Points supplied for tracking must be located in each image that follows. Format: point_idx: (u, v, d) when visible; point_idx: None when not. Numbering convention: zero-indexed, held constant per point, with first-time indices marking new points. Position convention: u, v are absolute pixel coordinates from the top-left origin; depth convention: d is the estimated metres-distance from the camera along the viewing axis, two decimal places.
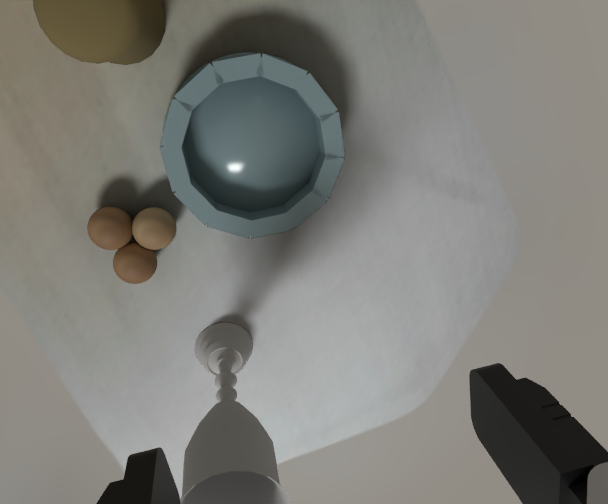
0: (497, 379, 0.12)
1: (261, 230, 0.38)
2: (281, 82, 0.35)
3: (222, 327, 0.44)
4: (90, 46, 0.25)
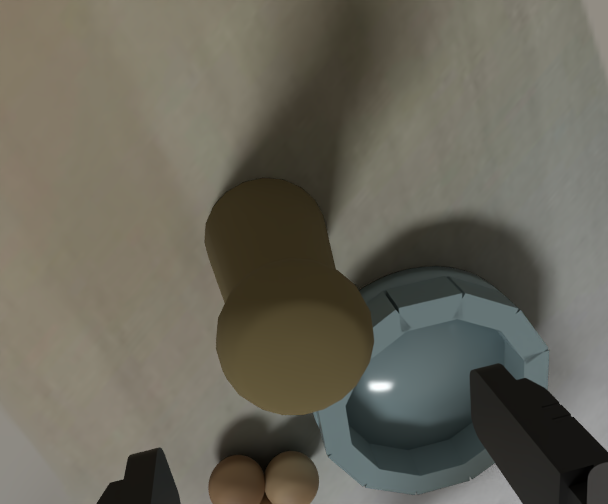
0: (497, 379, 0.12)
1: (431, 484, 0.30)
2: (483, 324, 0.26)
3: None
4: (304, 408, 0.16)
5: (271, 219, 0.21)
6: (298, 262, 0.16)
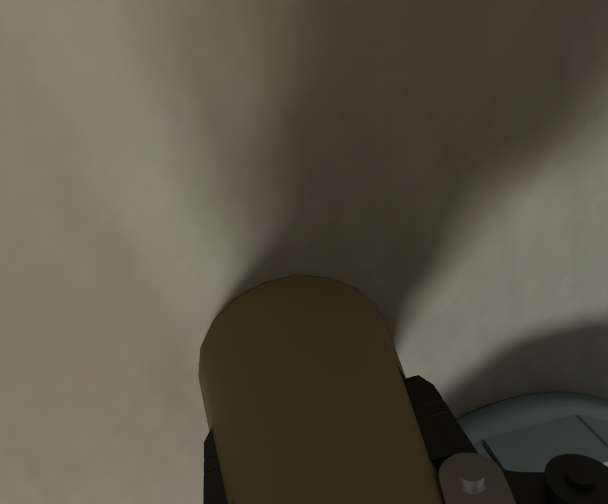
0: None
1: None
2: None
3: None
4: None
5: (321, 385, 0.11)
6: None
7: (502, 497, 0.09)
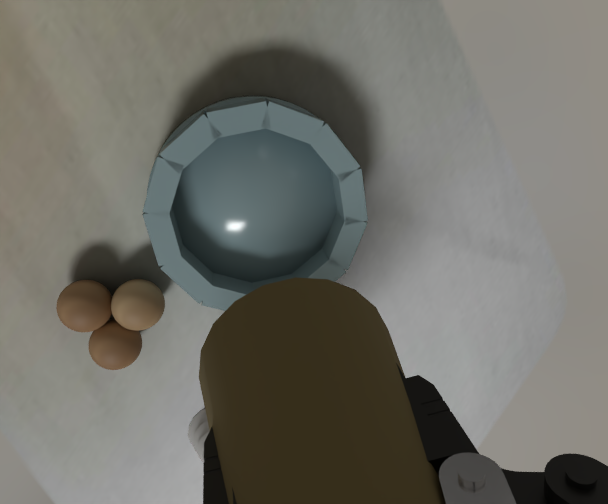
0: None
1: None
2: (292, 135, 0.28)
3: None
4: None
5: (322, 387, 0.11)
6: None
7: (502, 497, 0.09)
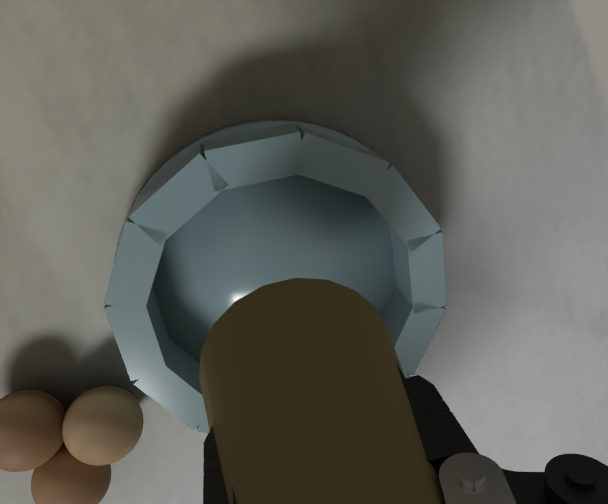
0: None
1: None
2: (339, 184, 0.18)
3: None
4: None
5: (322, 387, 0.11)
6: None
7: (502, 497, 0.09)
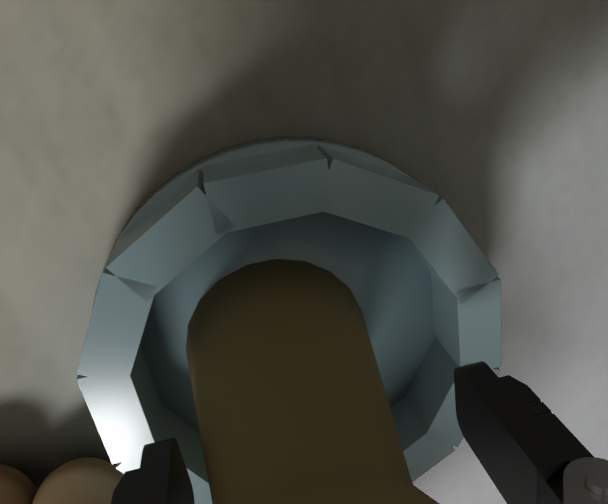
0: (480, 377, 0.12)
1: None
2: (374, 223, 0.14)
3: None
4: None
5: (293, 350, 0.12)
6: (357, 501, 0.08)
7: None
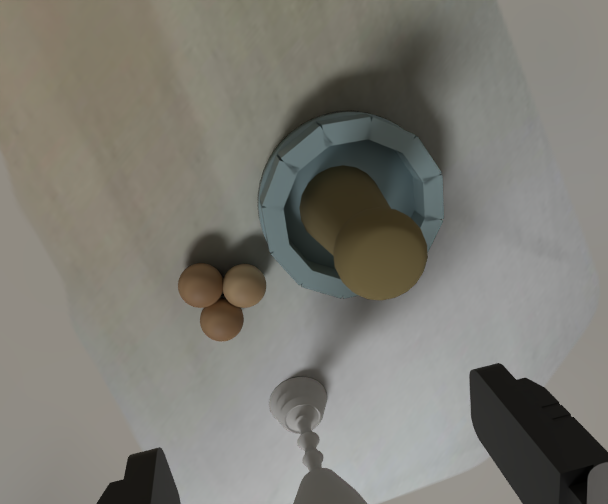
0: (497, 379, 0.12)
1: None
2: (388, 145, 0.34)
3: (299, 382, 0.43)
4: (386, 294, 0.28)
5: (357, 189, 0.32)
6: (385, 208, 0.28)
7: None
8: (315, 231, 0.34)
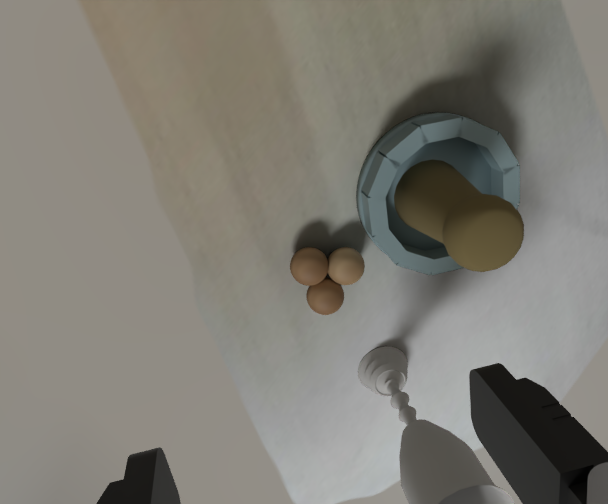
0: (497, 379, 0.12)
1: (441, 267, 0.43)
2: (475, 141, 0.40)
3: (385, 351, 0.49)
4: (490, 266, 0.34)
5: (453, 179, 0.38)
6: (488, 194, 0.34)
7: None
8: (414, 216, 0.40)
